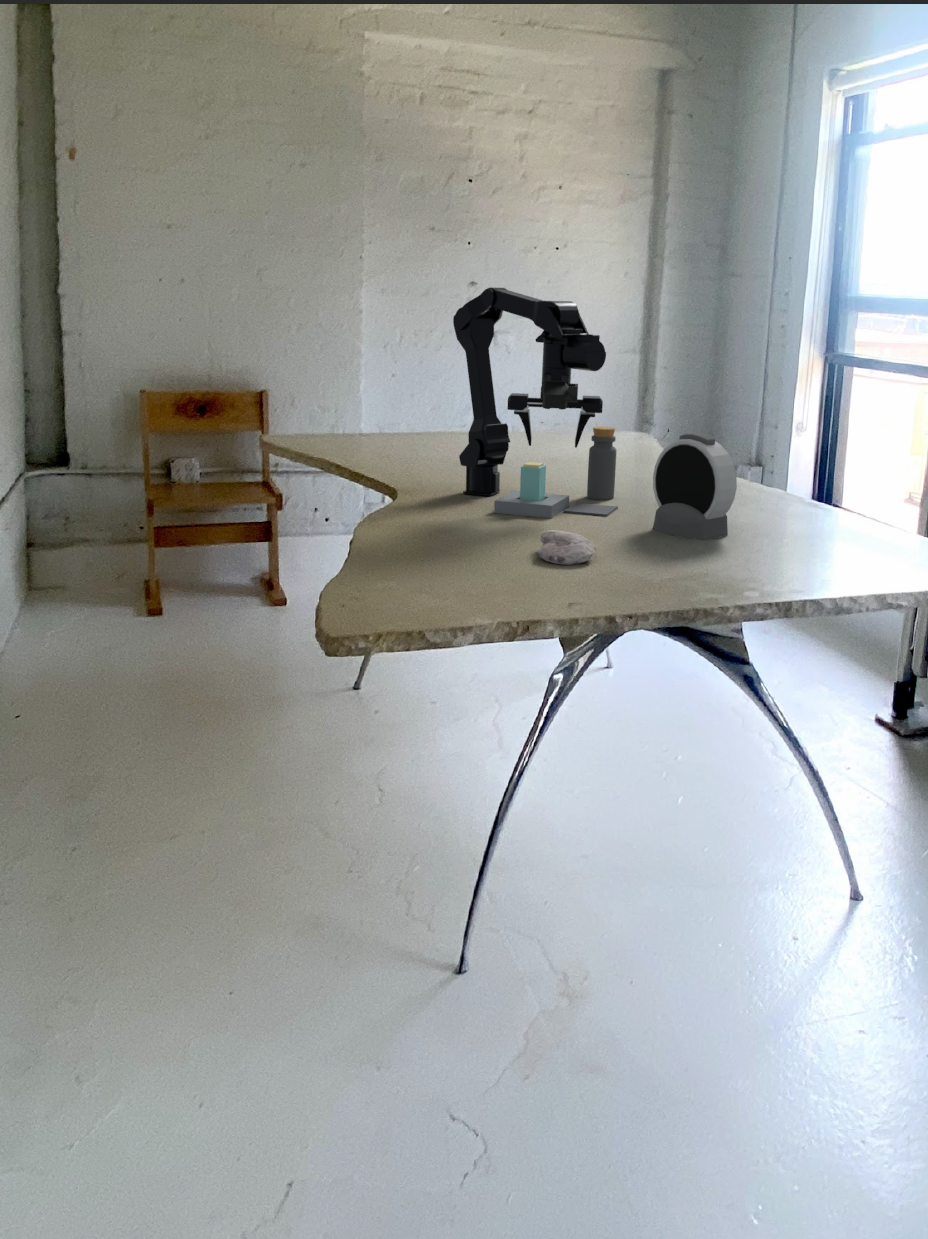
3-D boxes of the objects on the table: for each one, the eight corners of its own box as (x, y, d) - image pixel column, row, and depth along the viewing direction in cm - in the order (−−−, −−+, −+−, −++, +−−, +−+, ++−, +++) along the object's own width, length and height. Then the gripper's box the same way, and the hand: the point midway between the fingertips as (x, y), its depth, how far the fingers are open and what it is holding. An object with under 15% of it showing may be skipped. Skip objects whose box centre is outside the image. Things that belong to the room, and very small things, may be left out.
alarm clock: (639, 527, 203) (645, 430, 197) (675, 521, 209) (682, 427, 203) (705, 543, 190) (713, 440, 185) (741, 536, 196) (751, 436, 191)
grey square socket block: (494, 512, 213) (494, 500, 213) (513, 502, 224) (514, 490, 223) (551, 518, 209) (551, 505, 208) (568, 507, 220) (569, 495, 219)
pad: (563, 512, 215) (563, 510, 215) (575, 504, 223) (575, 502, 223) (606, 516, 212) (606, 514, 212) (617, 508, 220) (618, 506, 219)
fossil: (602, 542, 172) (541, 547, 172) (602, 567, 174) (542, 571, 173) (586, 522, 184) (529, 526, 183) (586, 546, 185) (529, 550, 184)
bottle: (612, 500, 228) (616, 430, 223) (585, 499, 229) (589, 428, 225) (614, 495, 233) (618, 426, 229) (588, 494, 235) (591, 425, 230)
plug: (519, 511, 216) (520, 464, 213) (525, 507, 219) (527, 461, 216) (538, 512, 214) (540, 465, 211) (544, 509, 218) (546, 463, 215)
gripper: (507, 369, 203) (504, 450, 208) (605, 372, 202) (600, 454, 206) (510, 364, 214) (507, 442, 218) (603, 367, 212) (598, 446, 217)
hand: (552, 446), depth 215 cm, fingers open, 9 cm apart
